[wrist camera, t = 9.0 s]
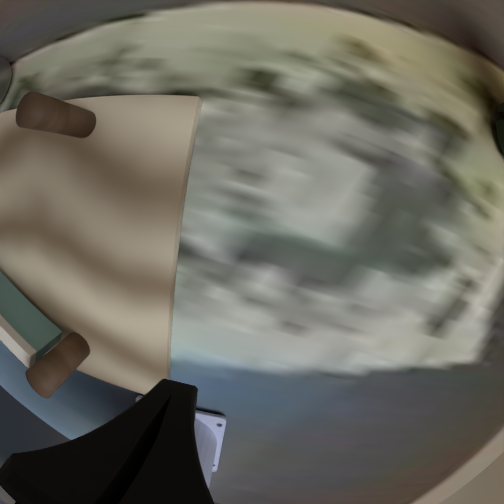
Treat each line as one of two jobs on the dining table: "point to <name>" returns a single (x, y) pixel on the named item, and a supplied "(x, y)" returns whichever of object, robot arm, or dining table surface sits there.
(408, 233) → the dining table surface
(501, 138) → the character mug
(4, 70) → the plastic bottle
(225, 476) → the dining table surface
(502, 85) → the dining table surface
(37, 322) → the gate
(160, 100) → the gate frame
